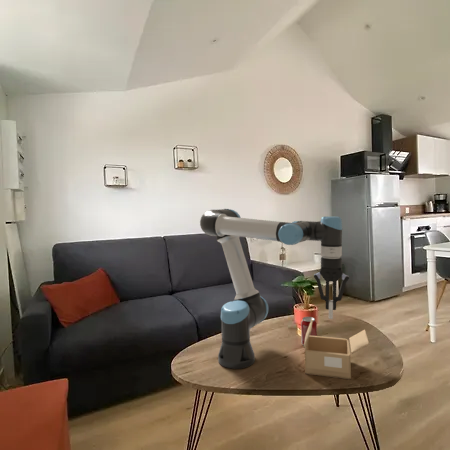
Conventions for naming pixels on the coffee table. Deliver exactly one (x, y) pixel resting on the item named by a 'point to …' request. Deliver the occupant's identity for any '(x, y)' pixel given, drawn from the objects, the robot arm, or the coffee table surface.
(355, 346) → the flap
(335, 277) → the robot arm
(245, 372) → the coffee table surface
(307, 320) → the soda can
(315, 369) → the carton
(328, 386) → the coffee table surface
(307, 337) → the flap
